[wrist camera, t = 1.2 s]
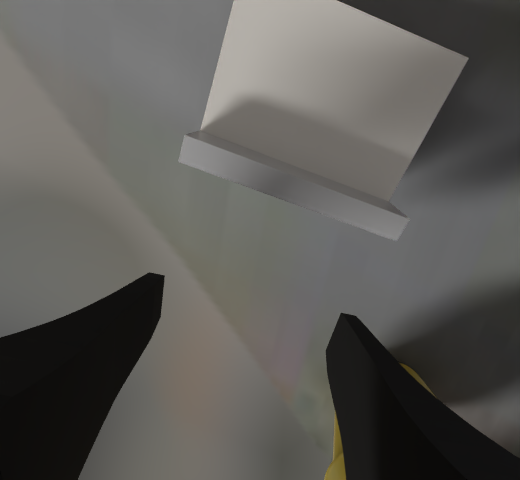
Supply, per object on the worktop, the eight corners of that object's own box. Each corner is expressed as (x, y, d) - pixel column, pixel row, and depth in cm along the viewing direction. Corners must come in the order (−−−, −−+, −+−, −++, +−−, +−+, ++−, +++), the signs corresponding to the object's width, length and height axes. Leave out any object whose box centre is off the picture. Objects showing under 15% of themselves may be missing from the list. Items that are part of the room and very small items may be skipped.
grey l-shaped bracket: (423, 70, 15) (515, 45, 9) (357, 198, 18) (396, 241, 12) (252, -3, 14) (235, -80, 8) (211, 143, 17) (178, 161, 11)
